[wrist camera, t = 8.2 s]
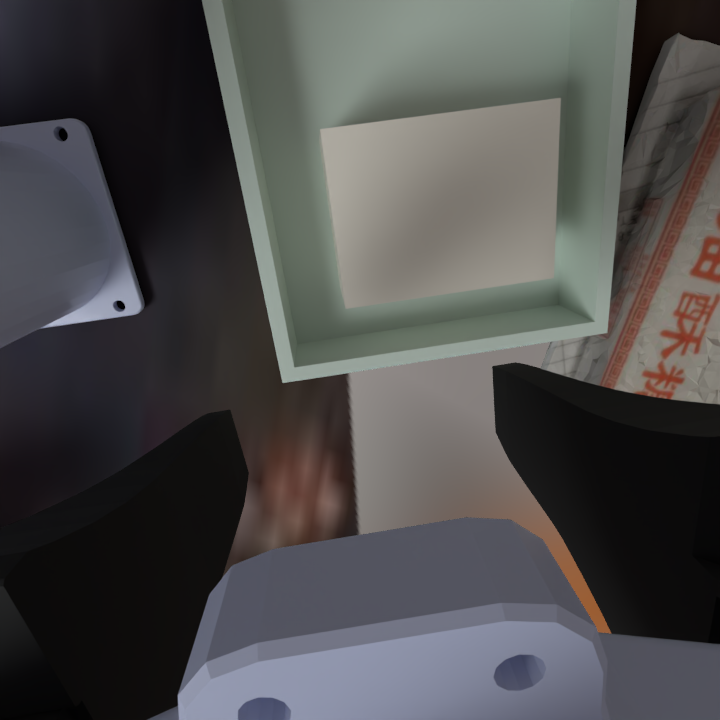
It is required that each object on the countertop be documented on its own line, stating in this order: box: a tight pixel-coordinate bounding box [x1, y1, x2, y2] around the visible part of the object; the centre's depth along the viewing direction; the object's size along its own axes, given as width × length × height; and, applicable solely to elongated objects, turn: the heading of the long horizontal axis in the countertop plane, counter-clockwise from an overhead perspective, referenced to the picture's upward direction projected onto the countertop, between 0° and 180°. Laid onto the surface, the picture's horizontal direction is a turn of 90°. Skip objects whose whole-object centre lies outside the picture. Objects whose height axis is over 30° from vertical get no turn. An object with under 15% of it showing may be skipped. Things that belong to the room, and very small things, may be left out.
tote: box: [202, 0, 637, 383], centre depth 16 cm, size 14×22×4 cm, turn 7°
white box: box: [319, 98, 561, 309], centre depth 17 cm, size 8×6×4 cm
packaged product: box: [541, 33, 720, 404], centre depth 20 cm, size 18×5×10 cm
